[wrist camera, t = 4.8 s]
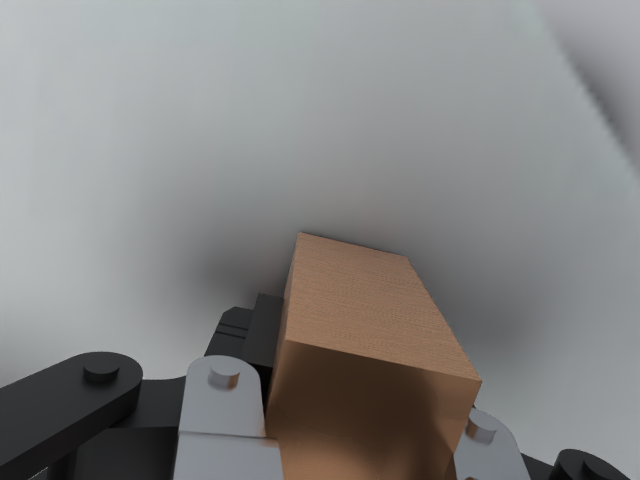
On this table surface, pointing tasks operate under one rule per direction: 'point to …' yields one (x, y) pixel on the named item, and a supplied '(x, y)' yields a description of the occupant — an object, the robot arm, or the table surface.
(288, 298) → the rake
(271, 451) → the robot arm
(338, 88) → the table surface
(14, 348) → the table surface
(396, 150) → the table surface
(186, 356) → the table surface
